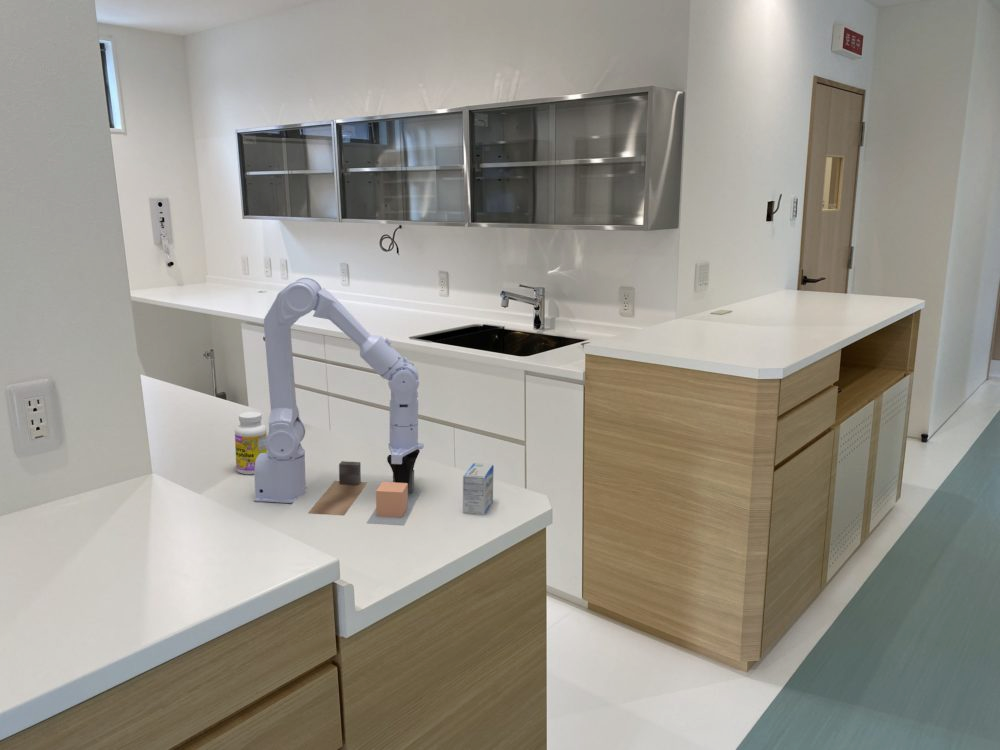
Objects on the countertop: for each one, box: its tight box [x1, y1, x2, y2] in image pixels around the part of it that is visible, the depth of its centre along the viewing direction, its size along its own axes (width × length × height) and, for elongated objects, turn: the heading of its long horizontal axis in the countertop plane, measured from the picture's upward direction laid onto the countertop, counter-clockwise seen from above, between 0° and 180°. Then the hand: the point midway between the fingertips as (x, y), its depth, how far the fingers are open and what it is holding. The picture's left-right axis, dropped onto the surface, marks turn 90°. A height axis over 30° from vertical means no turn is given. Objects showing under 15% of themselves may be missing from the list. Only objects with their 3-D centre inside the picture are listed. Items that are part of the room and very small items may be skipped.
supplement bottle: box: [234, 411, 268, 475], centre depth 166 cm, size 7×7×13 cm
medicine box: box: [462, 462, 495, 516], centre depth 147 cm, size 8×4×9 cm, turn 168°
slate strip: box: [366, 469, 422, 527], centre depth 147 cm, size 7×18×5 cm, turn 176°
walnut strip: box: [307, 460, 368, 516], centre depth 150 cm, size 7×18×5 cm, turn 176°
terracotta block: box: [375, 481, 408, 518], centre depth 144 cm, size 5×5×5 cm
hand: (403, 486), depth 155 cm, fingers closed on slate strip, 2 cm apart
